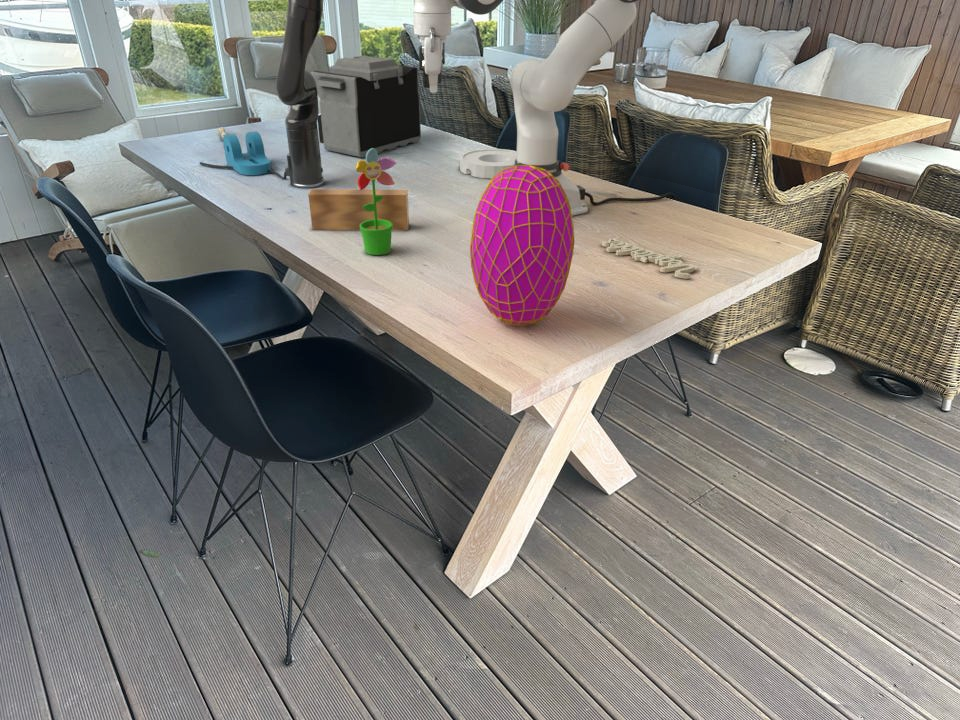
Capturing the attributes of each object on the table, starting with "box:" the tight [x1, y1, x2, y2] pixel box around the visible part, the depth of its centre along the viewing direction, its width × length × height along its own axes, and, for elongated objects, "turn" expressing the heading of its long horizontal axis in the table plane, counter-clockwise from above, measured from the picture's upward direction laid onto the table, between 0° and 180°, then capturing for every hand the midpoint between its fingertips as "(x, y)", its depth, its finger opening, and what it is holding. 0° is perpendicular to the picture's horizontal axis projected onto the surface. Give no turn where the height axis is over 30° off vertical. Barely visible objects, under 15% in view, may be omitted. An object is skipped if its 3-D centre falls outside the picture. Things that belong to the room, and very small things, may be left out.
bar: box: [307, 188, 410, 231], centre depth 179 cm, size 25×4×10 cm, turn 91°
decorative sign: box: [601, 237, 696, 280], centre depth 164 cm, size 26×1×10 cm
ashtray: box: [459, 148, 517, 180], centre depth 231 cm, size 23×23×4 cm
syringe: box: [218, 127, 229, 142], centre depth 264 cm, size 25×4×3 cm, turn 21°
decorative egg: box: [469, 165, 576, 326], centre depth 128 cm, size 19×19×30 cm
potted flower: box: [355, 148, 397, 256], centre depth 160 cm, size 9×8×25 cm
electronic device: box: [310, 55, 422, 159], centre depth 250 cm, size 37×22×30 cm, turn 144°
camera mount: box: [222, 131, 272, 176], centre depth 226 cm, size 18×10×10 cm, turn 35°
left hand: (432, 85), depth 187 cm, fingers open, 8 cm apart
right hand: (434, 88), depth 168 cm, fingers open, 8 cm apart
